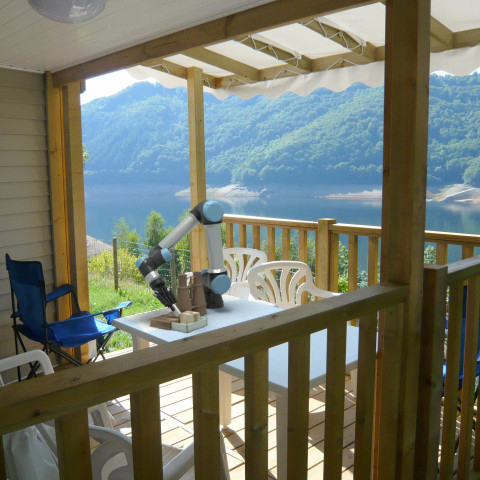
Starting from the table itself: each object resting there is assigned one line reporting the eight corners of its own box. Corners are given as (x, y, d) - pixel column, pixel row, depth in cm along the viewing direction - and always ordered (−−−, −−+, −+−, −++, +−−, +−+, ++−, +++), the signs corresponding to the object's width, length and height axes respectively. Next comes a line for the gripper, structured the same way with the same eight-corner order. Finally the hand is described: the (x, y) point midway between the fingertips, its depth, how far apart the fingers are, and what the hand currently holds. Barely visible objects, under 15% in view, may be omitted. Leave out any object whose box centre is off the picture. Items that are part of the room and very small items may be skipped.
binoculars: (183, 322, 274) (181, 276, 272) (171, 319, 281) (169, 275, 278) (210, 314, 289) (209, 271, 287) (199, 311, 296) (197, 269, 293)
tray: (191, 322, 272) (191, 315, 272) (207, 325, 266) (207, 318, 265) (171, 329, 259) (171, 322, 259) (187, 332, 253) (187, 325, 252)
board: (173, 318, 281) (173, 311, 281) (192, 321, 273) (192, 314, 273) (150, 326, 266) (150, 318, 266) (169, 330, 258) (169, 322, 258)
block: (187, 310, 266) (199, 312, 261) (188, 323, 267) (199, 325, 262) (180, 313, 261) (192, 315, 256) (180, 326, 262) (192, 328, 257)
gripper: (160, 283, 281) (183, 316, 273) (142, 287, 270) (167, 322, 263) (166, 274, 277) (190, 308, 269) (149, 278, 267) (174, 313, 259)
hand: (179, 315), depth 266 cm, fingers closed
